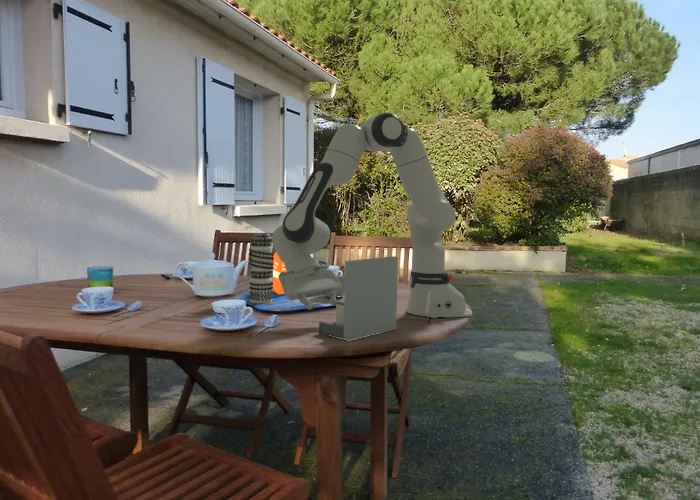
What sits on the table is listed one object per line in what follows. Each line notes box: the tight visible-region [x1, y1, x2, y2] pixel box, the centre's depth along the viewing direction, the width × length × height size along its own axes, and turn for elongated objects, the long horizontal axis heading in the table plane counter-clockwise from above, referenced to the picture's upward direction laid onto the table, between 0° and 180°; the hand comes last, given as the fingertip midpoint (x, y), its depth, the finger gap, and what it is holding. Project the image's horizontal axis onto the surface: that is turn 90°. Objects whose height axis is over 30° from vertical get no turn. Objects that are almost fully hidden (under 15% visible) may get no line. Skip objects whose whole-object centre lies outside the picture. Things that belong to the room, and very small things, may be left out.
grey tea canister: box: [335, 299, 344, 327], centre depth 160 cm, size 6×6×9 cm
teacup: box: [323, 275, 345, 298], centre depth 217 cm, size 14×11×8 cm
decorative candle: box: [248, 232, 275, 304], centre depth 206 cm, size 9×9×25 cm
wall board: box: [318, 255, 399, 340], centre depth 163 cm, size 20×12×22 cm, turn 136°
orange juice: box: [272, 251, 287, 295], centre depth 226 cm, size 8×9×20 cm
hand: (323, 306), depth 168 cm, fingers open, 8 cm apart
